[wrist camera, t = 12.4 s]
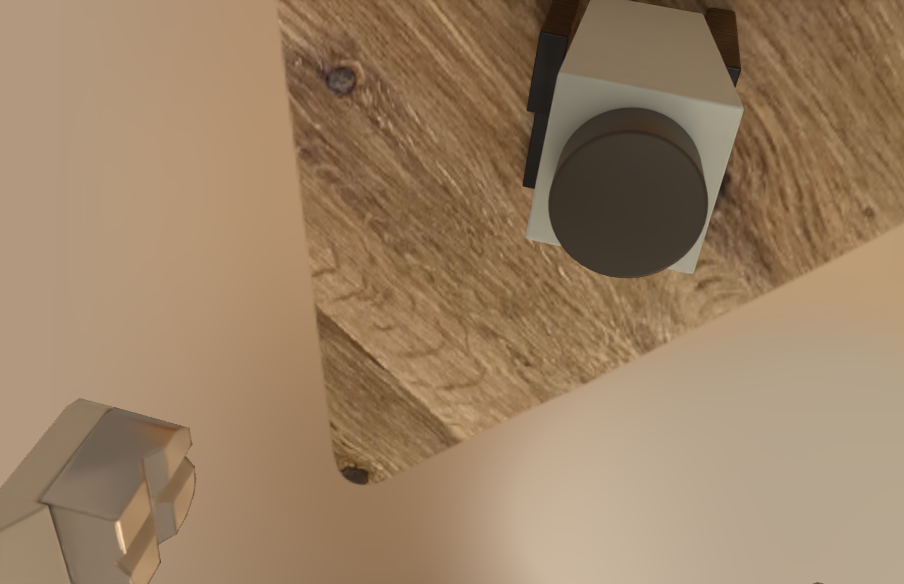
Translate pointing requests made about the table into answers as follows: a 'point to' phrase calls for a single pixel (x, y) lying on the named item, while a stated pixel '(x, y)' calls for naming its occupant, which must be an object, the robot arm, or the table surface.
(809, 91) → the table surface
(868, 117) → the table surface
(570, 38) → the stand
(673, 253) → the vial
